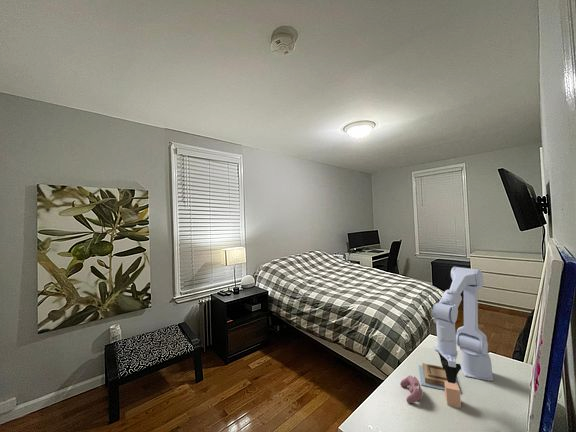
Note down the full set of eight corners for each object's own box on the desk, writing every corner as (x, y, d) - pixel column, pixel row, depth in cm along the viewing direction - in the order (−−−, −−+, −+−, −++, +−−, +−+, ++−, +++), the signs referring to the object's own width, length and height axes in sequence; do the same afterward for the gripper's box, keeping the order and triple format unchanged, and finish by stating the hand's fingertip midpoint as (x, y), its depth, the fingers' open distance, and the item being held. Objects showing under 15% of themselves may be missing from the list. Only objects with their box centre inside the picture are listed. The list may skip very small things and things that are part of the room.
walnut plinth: (449, 372, 99) (449, 366, 99) (455, 389, 90) (454, 381, 90) (422, 367, 103) (422, 361, 103) (425, 382, 94) (424, 375, 94)
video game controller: (418, 409, 84) (427, 392, 84) (406, 402, 85) (414, 386, 84) (410, 389, 94) (417, 374, 93) (398, 383, 95) (406, 368, 94)
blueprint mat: (453, 372, 100) (453, 371, 100) (461, 393, 88) (460, 392, 88) (418, 365, 105) (418, 365, 105) (421, 385, 93) (421, 384, 93)
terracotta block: (458, 399, 85) (457, 383, 86) (461, 408, 82) (459, 390, 82) (445, 396, 87) (444, 380, 87) (447, 404, 84) (446, 387, 84)
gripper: (430, 327, 93) (432, 361, 93) (437, 346, 80) (439, 386, 80) (451, 329, 90) (453, 365, 90) (462, 349, 77) (465, 391, 77)
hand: (448, 375), depth 85 cm, fingers open, 7 cm apart
